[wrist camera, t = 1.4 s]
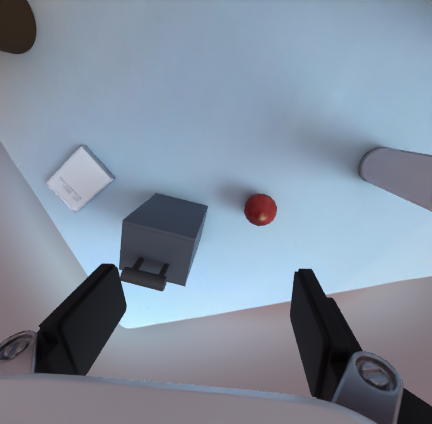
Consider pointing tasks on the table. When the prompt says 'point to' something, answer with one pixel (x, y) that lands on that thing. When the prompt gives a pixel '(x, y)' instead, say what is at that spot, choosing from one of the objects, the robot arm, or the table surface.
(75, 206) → the hard drive
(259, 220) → the onion
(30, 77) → the table surface
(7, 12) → the olive oil
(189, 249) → the grey drawer with handle
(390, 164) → the travel mug
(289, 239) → the table surface
